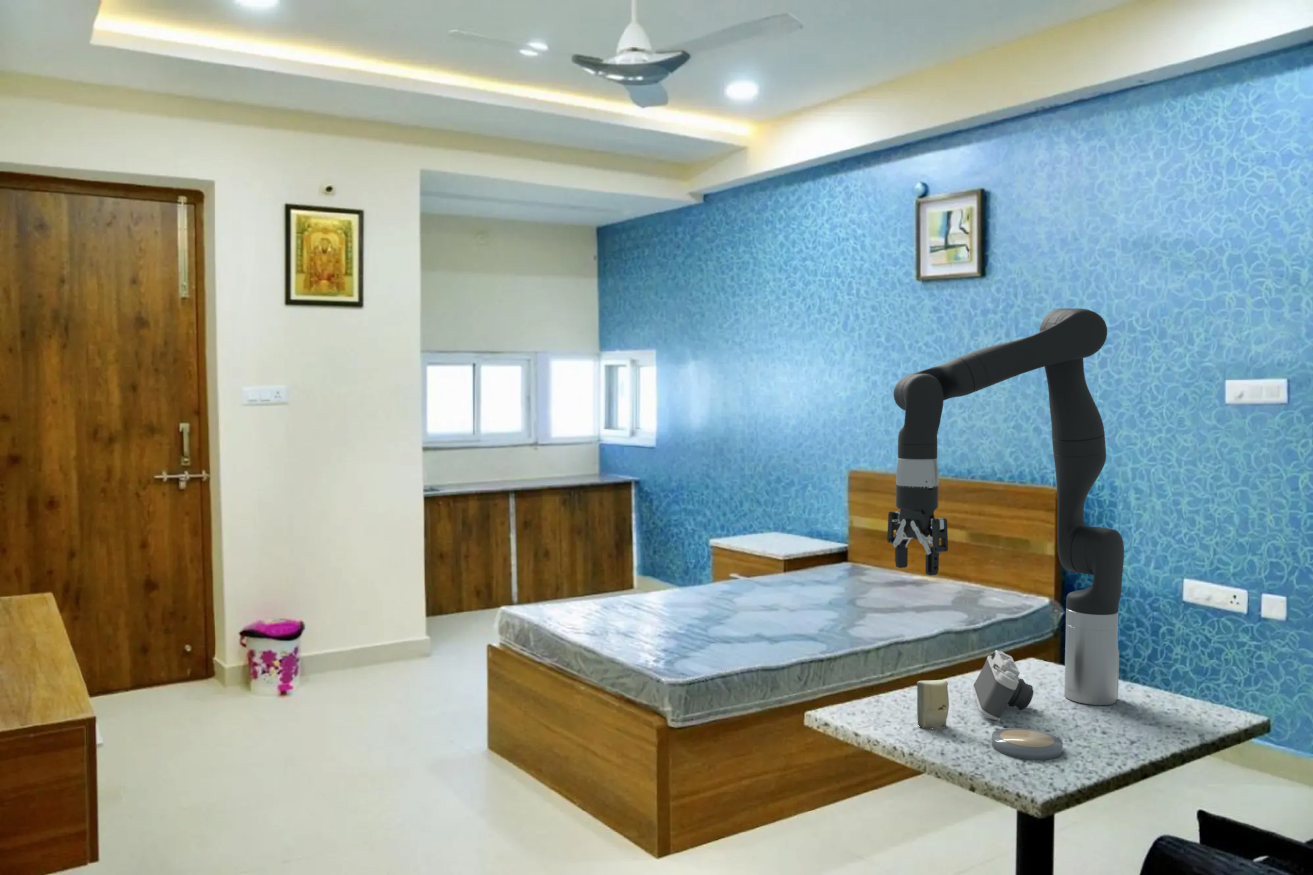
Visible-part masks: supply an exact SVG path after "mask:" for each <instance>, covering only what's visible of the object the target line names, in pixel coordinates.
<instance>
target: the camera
mask: <svg viewBox="0 0 1313 875" xmlns="http://www.w3.org/2000/svg"><path fill="white" fill-rule="evenodd" d="M1033 689H1034V687H1033V686H1032V685H1031V684H1028V683H1026V682H1025V680H1024V679H1023V678H1020V670H1019V669H1018V666H1017V665H1016V663H1015V661H1014V658H1013V657H1012V656H1011V655H1010V654H1006V653H1005V652H1004V651H1002V650H1000V651H999V650H997V649H996V650H995V651H994V652H993V653H992V654H990V655H988V656H987V658H986V660H985V662H984V665H983V666H982V668H981V671H980V673H979V674H978V676H977V678H976V679H975V681H974V683H973V685H972V691H973V695H974V696H975V700H976V703H977V706H978V709H979V711H980V712H981V713H982V715H983V716H985V717H986V718H987V719H990V720H992V721H993V720H994V721H1000V720H1001V718H1002V716H1003V714H1004V711H1006V708H1007V706H1008V707H1009V708H1017V710H1019V711H1023V710H1024V709H1026V708H1028V706H1030V704H1031V701H1032V699H1033V696H1034V690H1033Z"/></svg>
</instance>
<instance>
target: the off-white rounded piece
mask: <svg viewBox="0 0 1313 875" xmlns="http://www.w3.org/2000/svg"><path fill="white" fill-rule="evenodd" d="M948 685H949V682H948V681H947V680H945V679H937V680H934V679H933V680H932V679H931V680H919V681H917V682H916V694H917V696H916V699H917V700H916V703H917V704H916V705H917V706H916V708H917V710H916V714H917V715H916V716H917V726H918V725H919V726H920V727H919V726H918V727H919V728H921V727H924V728H933V729H932V730H944V728H946V727H947V720H948V716H949V708H950V707H949V706H950V703H949V690H948ZM943 727H944V728H943ZM924 728H923V729H924Z"/></svg>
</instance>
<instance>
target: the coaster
mask: <svg viewBox="0 0 1313 875" xmlns="http://www.w3.org/2000/svg"><path fill="white" fill-rule="evenodd" d="M991 746H992V748H993V749H994V750H996V751H997V752H999V753H1001V754H1003V755H1005V756H1006V755H1007V756H1010V757H1012V758H1018V759H1023V760H1034V761H1047V760H1054V759H1058V758H1059V757H1062V755H1063V753H1064V752H1063V751H1064V748H1063V746H1064V743H1063V740H1062V739H1061V738H1060V737H1058V736H1056V735H1053V734H1051V733H1049V732H1046V731H1041V730H1038V729H1037V730H1036V729H1032V728H1021V727H1007V728H1000V729H996V730H995V731H993V732H992V733H991Z"/></svg>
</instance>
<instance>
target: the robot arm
mask: <svg viewBox="0 0 1313 875" xmlns="http://www.w3.org/2000/svg"><path fill="white" fill-rule="evenodd" d="M1107 336H1108V326H1107V323H1106V321H1105V319H1104V318H1103V317H1102V316H1101V315H1100V314H1099V313H1097V312H1095V311H1094V310H1090V309H1087V308H1078V307H1077V308H1069V307H1065V308H1063V307H1061V308H1056V309H1053V310H1051V311H1050V312H1048V313H1047V314H1046V315H1045V317H1044V318H1043V319H1042V321H1041V323H1040V326H1039V332H1037V333H1034V334H1032V335H1028V336H1025V337H1022V338H1019V339H1015V340H1012V341H1007V342H1002V343H999V344H994V345H991V346H986V347H983V348H980V349H977V350H973V351H972V352H968V353H965V354H963V355H961V356H958V357H956V358H954V359H951V360H950V361H949V360H948V361H947V362H945V363H942V364H939V365H936V366H932V367H929V368H926V369H922V370H920V371H915V372H913V373H910V374H907V375H905V376H904V377H902V378H901V379H899V381H898V382H897V383H896V384H895V387H894V390H893V400H894V402H895V404H896V405H897V406H898V407H899V408H900V409H902V410H903V411H905V414H904V423H903V427H902V428H900V429H899V432H898V436H897V464H896V469H895V470H896V472H895V474H896V475H895V476H896V477H895V507H896V508H897V509H899V510H897V511H889V512H888V514H887V515H888V516H887V518H888V520H887V535H886V536H887V538H886V539H887V542H888V543H891V544H892V545H893V547H894V562H895V567H896V568H898V569H903V568H904V569H906V568H907V567H908V564H909V563H908V562H909V561H908V560H909V558H908V556H909V555H908V553H909V550H908V549H909V547H908V545H909V543H910V541H911V540H912V539H914V540H918V542H919V544H921V545H922V547H923V548H924V551H925V553H926V554H925V570H924V571H925V575H927V576H936V575H938V573H939V567H940V565H939V564H940V562H939V561H940V559H939V557H940V554H941V553H947V552H948V550H949V542H948V540H949V539H948V537H949V536H948V520H947V518H945V517H944V518H943V517H941V518H938V517H937V518H936V517H935V511H936V510H938V508H939V483H940V482H939V480H940V479H939V478H940V477H939V472H940V471H939V465H938V463H939V462H938V433H939V429H940V425H941V421H942V420H941V419H942V414H943V407H944V401H946V400H948V399H949V400H950V399H952V398H959V397H960V398H961V397H964V396H965V397H966V396H968V395H970V394H973V393H976V392H978V391H981V390H983V389H987V388H989V387H991V386H994V385H995V384H998V383H1001V382H1005V381H1006V380H1009V379H1012V378H1014V377H1017V376H1019V375H1022V374H1025V373H1028V372H1031V371H1034V370H1038V369H1041V368H1043V367H1044V371H1045V377H1046V382H1047V391H1048V402H1049V404H1048V405H1049V414H1050V421H1051V422H1050V423H1051V442H1052V453H1053V462H1054V469H1055V480H1056V495H1057V496H1056V498H1057V533H1056V535H1057V537H1056V538H1057V555H1058V558H1059V559H1058V560H1059V562H1060V564H1061V567H1062V568H1063V569H1064V570H1066V571H1068V572H1072V573H1077V574H1084V575H1090V576H1093V579H1092V583H1091V585H1090V586H1089V587H1087V588H1083V589H1079V590H1073V591H1071V592H1069V593H1068V594H1067V595H1066V599H1065V601H1066V602H1065V606H1066V608H1065V610H1066V611H1065V643H1064V644H1065V648H1064V650H1065V652H1064V688H1063V689H1064V692H1063V693H1064V697H1065V698H1066V699H1067V700H1070V701H1073V702H1076V703H1080V704H1085V705H1093V706H1106V705H1107V706H1108V705H1112V704H1116V703H1117V699H1118V698H1119V681H1120V680H1119V679H1120V677H1119V676H1120V675H1119V674H1120V670H1119V669H1120V650H1119V648H1118V647H1119V646H1118V645H1119V606H1120V600H1121V596H1122V595H1121V594H1122V588H1123V587H1122V585H1123V575H1124V574H1123V571H1124V562H1125V544H1124V540H1123V537H1122V535H1121V533H1120V532H1119V531H1117V530H1116V529H1113V528H1109V527H1108V528H1107V527H1100V526H1099V527H1098V526H1090V525H1085V517H1084V513H1085V504H1086V499H1087V497H1088V495H1089V493H1090V492H1091V489H1092V487H1093V485H1095V483H1096V481H1097V480H1098V477H1099V476H1100V474H1101V472H1102V471H1103V468H1104V466H1105V464H1106V460H1107V450H1106V449H1107V448H1106V437H1105V436H1106V434H1105V433H1106V432H1105V427H1104V423H1103V418H1102V416H1101V414H1100V411H1099V409H1098V407H1097V404H1096V403H1095V401H1094V398H1093V397H1092V395H1091V392H1090V390H1089V388H1088V384H1087V380H1086V375H1085V365H1084V359H1085V358H1089V357H1091V356H1093V355H1095V354H1096V353H1097V352H1099V351H1100V350H1101V349H1102V348H1103V347H1104V345H1105V342H1106V340H1107ZM894 531H895V535H894ZM940 543H941V545H940Z"/></svg>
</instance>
